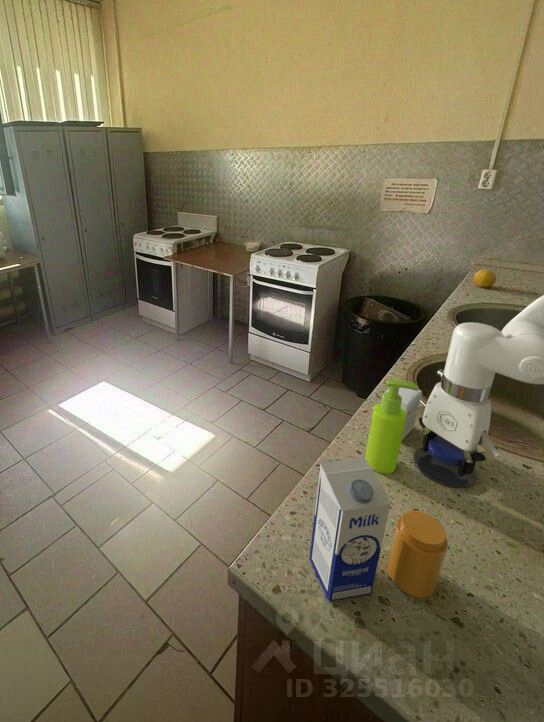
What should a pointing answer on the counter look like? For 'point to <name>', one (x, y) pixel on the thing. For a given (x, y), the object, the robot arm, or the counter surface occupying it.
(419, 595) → the jar
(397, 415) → the soap dispenser
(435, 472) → the coaster
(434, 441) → the lid
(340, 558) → the milk carton
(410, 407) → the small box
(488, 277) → the fruit
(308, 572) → the counter surface
